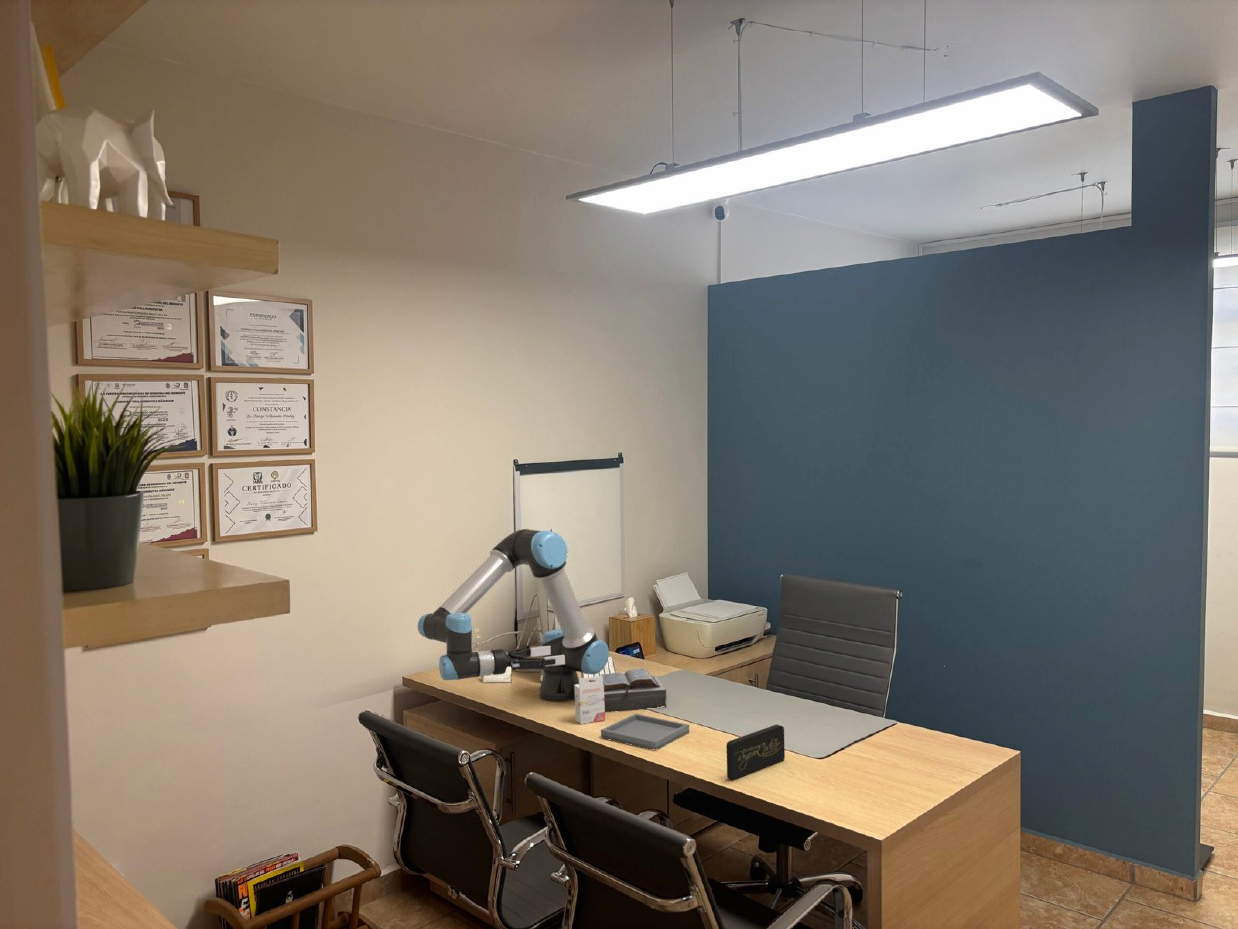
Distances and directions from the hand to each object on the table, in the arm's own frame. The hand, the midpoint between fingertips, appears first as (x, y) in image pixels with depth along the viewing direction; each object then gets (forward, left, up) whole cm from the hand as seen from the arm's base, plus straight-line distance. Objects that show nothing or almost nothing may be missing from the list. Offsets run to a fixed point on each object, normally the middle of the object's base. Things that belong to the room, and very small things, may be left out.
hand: (557, 654), depth 280 cm
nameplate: (-1, +69, -23) cm, 73 cm away
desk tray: (-7, +28, -23) cm, 37 cm away
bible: (-31, +4, -23) cm, 39 cm away
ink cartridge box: (-9, +5, -23) cm, 25 cm away
